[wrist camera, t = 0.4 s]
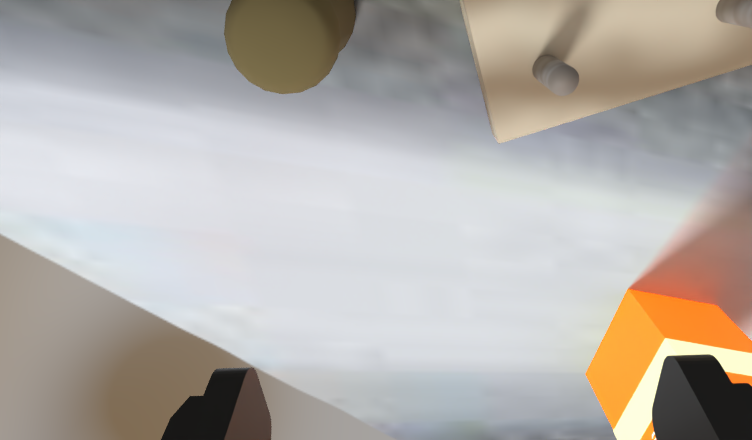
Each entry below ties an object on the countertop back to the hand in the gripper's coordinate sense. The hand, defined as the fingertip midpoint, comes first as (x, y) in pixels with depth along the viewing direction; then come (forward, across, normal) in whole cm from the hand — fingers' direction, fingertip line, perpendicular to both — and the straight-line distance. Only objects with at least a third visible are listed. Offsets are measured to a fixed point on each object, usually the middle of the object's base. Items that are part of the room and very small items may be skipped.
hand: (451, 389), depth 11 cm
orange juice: (+26, -16, +25) cm, 40 cm away
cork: (+27, +7, -2) cm, 28 cm away
